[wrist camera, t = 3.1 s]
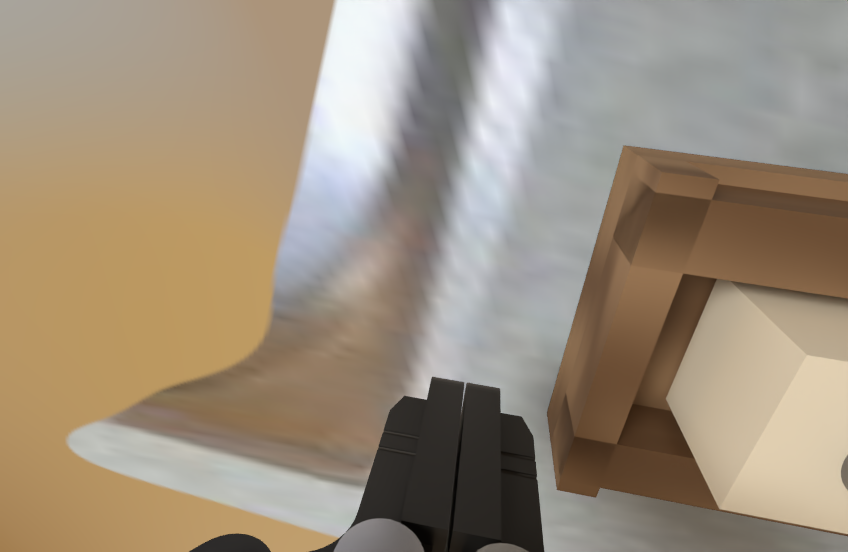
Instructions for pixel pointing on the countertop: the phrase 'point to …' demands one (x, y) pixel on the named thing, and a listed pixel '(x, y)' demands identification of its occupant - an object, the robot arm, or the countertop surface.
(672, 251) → the wooden slider track
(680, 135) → the countertop surface
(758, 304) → the rider
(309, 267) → the countertop surface
